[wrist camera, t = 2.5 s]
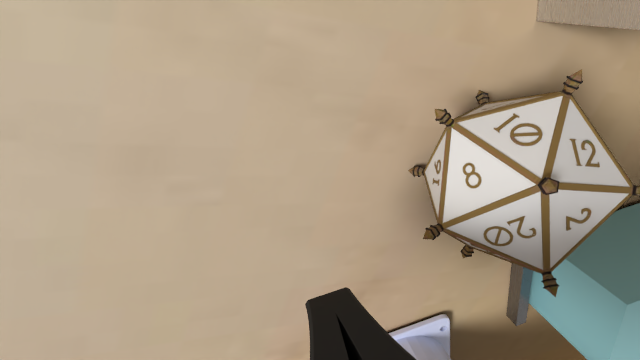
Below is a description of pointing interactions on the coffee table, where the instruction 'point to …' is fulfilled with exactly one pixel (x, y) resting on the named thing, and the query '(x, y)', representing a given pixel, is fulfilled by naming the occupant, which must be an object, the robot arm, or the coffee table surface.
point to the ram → (598, 291)
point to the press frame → (581, 9)
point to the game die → (523, 179)
